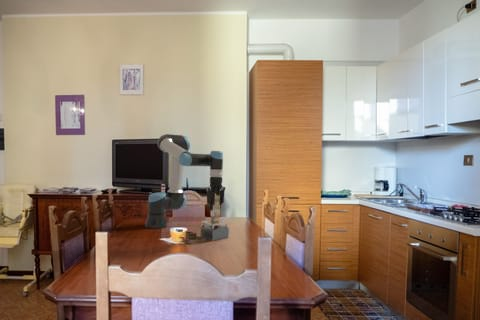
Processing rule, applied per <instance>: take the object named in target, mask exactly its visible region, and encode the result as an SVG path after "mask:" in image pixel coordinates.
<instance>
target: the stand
mask: <svg viewBox="0 0 480 320" xmlns="http://www.w3.org/2000/svg"><path fill="white" fill-rule="evenodd" d="M185 232H186V237H191V236H197V232H194V231H193V230H192V231H185Z"/></svg>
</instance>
